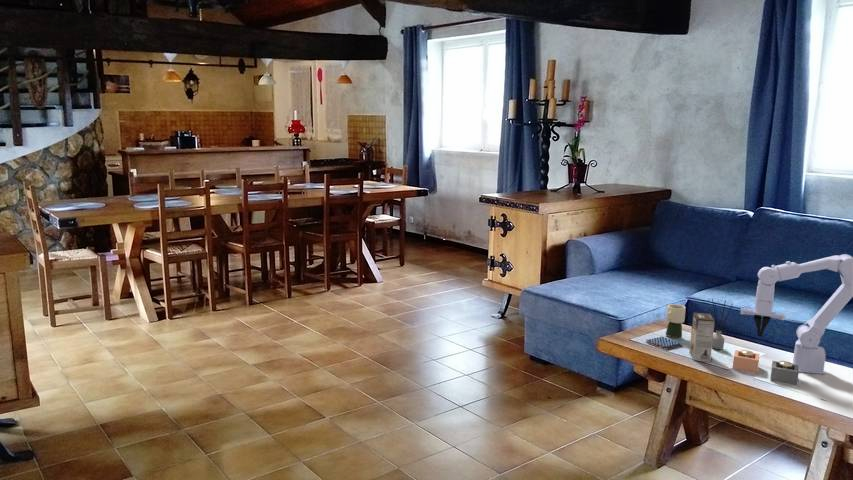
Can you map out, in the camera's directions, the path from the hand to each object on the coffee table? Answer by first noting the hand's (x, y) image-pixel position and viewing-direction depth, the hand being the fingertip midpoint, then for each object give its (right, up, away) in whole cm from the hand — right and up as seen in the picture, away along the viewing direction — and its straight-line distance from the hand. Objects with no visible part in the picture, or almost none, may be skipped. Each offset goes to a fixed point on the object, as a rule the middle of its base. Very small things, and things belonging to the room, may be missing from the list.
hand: (759, 335), depth 246 cm
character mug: (-21, -5, +30) cm, 37 cm away
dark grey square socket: (+1, -13, -14) cm, 20 cm away
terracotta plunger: (-7, -10, -4) cm, 13 cm away
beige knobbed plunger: (+1, -13, -15) cm, 19 cm away
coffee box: (-20, -9, +6) cm, 23 cm away
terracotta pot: (-7, -11, -4) cm, 14 cm away
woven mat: (-29, -7, +20) cm, 35 cm away
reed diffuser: (-10, -8, +16) cm, 21 cm away
